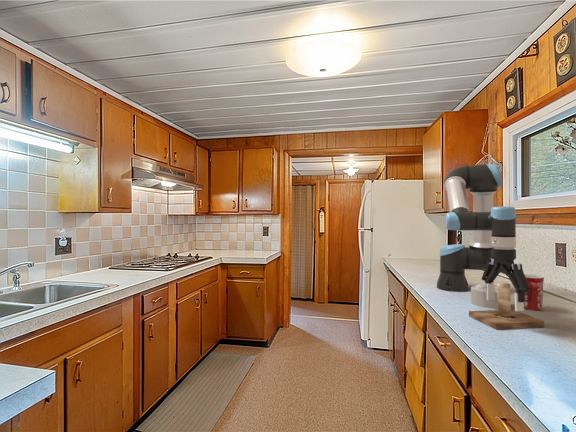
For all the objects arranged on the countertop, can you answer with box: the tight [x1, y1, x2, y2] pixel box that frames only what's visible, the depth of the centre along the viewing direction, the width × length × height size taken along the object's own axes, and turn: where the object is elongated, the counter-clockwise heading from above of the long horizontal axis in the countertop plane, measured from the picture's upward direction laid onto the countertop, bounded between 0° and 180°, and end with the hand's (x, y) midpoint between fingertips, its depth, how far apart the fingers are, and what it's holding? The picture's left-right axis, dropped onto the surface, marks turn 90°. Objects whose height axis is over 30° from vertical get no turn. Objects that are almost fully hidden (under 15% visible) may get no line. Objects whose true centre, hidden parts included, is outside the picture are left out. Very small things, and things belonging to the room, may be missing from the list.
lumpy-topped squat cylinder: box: [470, 283, 498, 310], centre depth 136 cm, size 10×13×9 cm
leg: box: [496, 282, 512, 319], centre depth 115 cm, size 4×4×14 cm
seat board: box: [468, 308, 545, 330], centre depth 115 cm, size 14×18×2 cm
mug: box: [519, 273, 545, 311], centre depth 129 cm, size 13×9×14 cm
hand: (504, 305), depth 115 cm, fingers open, 13 cm apart
